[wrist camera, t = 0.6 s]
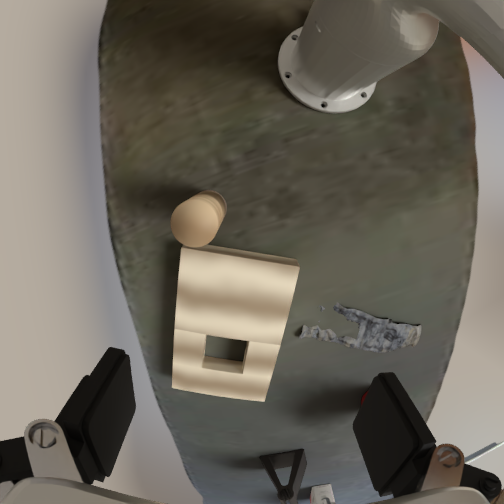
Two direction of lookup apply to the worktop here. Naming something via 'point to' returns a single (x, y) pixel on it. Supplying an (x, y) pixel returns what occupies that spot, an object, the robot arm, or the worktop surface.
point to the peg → (198, 218)
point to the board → (230, 318)
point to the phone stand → (296, 476)
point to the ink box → (322, 495)
